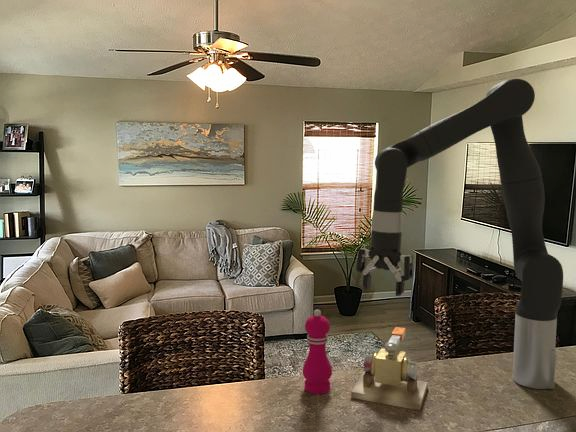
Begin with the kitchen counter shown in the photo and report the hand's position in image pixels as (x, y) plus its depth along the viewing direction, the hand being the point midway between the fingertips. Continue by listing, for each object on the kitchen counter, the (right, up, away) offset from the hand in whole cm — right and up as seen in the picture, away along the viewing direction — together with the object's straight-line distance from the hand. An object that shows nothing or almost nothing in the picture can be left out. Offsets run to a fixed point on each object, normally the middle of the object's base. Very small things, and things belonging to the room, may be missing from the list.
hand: (382, 292), depth 126 cm
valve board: (+1, -23, -6) cm, 24 cm away
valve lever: (+3, -12, -2) cm, 13 cm away
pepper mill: (-17, -23, -3) cm, 29 cm away
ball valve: (+1, -20, -6) cm, 21 cm away
